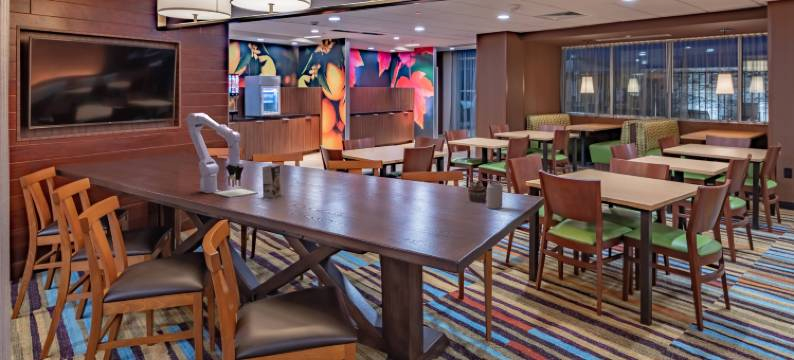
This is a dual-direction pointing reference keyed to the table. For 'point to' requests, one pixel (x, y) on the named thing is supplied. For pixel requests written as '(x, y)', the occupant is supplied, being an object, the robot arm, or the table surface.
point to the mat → (235, 193)
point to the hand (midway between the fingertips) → (235, 179)
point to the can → (494, 196)
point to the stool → (233, 180)
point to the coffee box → (271, 181)
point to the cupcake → (477, 192)
